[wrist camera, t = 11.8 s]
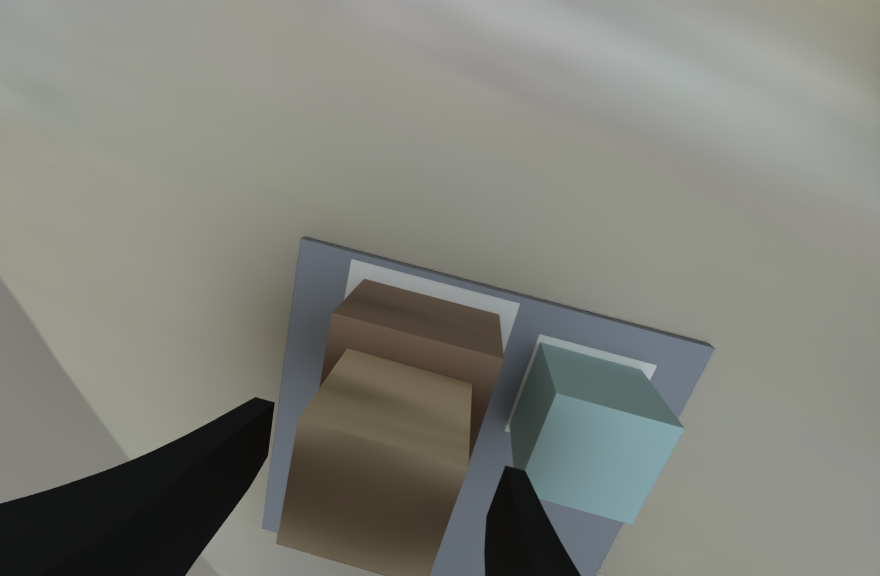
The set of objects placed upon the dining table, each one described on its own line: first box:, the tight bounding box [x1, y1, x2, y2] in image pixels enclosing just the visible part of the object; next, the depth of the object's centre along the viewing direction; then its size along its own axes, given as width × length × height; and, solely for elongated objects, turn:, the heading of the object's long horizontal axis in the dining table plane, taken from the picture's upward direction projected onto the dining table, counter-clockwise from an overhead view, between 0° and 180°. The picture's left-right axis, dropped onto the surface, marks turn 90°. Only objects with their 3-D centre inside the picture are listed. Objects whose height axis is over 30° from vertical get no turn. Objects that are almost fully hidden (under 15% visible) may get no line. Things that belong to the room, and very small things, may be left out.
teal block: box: [509, 342, 685, 525], centre depth 17 cm, size 4×4×4 cm
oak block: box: [276, 348, 472, 576], centre depth 13 cm, size 4×4×4 cm
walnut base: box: [319, 279, 504, 461], centre depth 17 cm, size 6×6×4 cm
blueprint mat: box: [262, 237, 715, 576], centre depth 20 cm, size 17×18×1 cm
